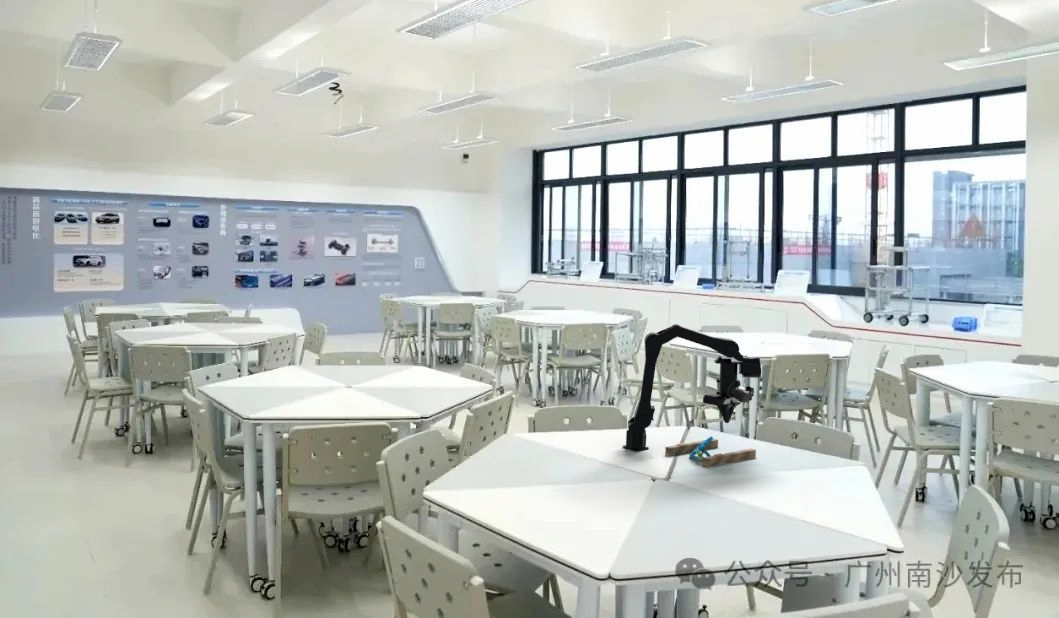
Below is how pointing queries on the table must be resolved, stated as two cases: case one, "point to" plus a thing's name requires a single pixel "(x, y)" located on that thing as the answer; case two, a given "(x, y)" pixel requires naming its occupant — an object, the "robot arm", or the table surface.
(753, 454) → the guide channel
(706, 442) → the gear
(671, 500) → the table surface
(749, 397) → the robot arm
